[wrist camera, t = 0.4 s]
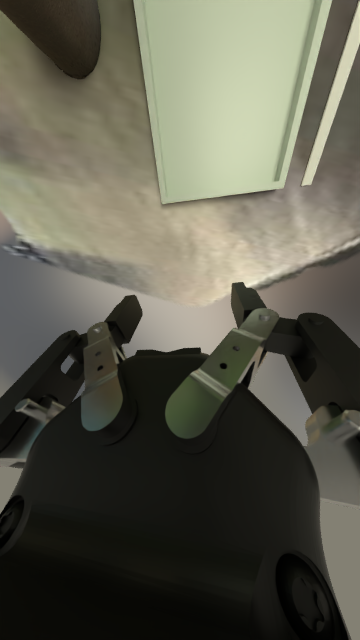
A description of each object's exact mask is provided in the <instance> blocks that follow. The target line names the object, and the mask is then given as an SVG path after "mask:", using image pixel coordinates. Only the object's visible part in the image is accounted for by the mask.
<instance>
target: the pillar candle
mask: <svg viewBox="0 0 360 640" xmlns="http://www.w3.org/2000/svg"><path fill="white" fill-rule="evenodd" d="M0 10H1V11H2V12H3V13H4V14H5V15H6V16H7V17H8V18H9V19H10V20H11V21H12V22H13V23H14V24H15V25H16V26H17V27H18V28H19V29H20V30H21V31H22V32H23V33H24V34H25V35H26V36H27V37H28V38H29V39H30V40H31V41H32V42H33V43H34V44H35V45H36V46H37V47H39V48H40V49H41V50H42V51H43V52H44V53H45V54H46V55H47V56H48V57H49V58H50V59H51V60H52V61H53V62H54V63H55V64H56V65H57V66H58V68H59V69H61V70H63V72H64V73H65V74H67V75H69V76H70V77H73V78H77V79H82V78H85V77H86V76H87V75H88V74H89V73H90V72H92V70H93V69H94V67H95V65H96V62H97V59H98V56H99V50H100V41H101V25H100V15H99V10H98V4H97V0H0Z"/></svg>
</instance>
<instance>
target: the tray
mask: <svg viewBox="0 0 360 640" xmlns="http://www.w3.org/2000/svg"><path fill="white" fill-rule="evenodd" d="M133 1H134V8H135V15H136V22H137V29H138V36H139V44H140V51H141V58H142V65H143V72H144V79H145V87H146V94H147V101H148V108H149V115H150V122H151V130H152V137H153V144H154V151H155V158H156V165H157V172H158V180H159V187H160V194H161V201H162V204H168V203H175V202H183V201H191V200H198V199H206V198H213V197H221V196H229V195H236V194H244V193H251V192H259V191H267V190H274V189H281V188H284V184H285V180H286V176H287V172H288V169H289V165H290V161H291V157H292V153H293V149H294V145H295V141H296V138H297V134H298V130H299V126H300V122H301V118H302V114H303V110H304V107H305V103H306V99H307V95H308V91H309V87H310V83H311V79H312V76H313V72H314V68H315V64H316V60H317V56H318V52H319V49H320V45H321V41H322V37H323V33H324V29H325V25H326V21H327V18H328V14H329V10H330V6H331V2H332V0H133Z"/></svg>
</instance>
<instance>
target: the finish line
mask: <svg viewBox="0 0 360 640" xmlns="http://www.w3.org/2000/svg"><path fill="white" fill-rule="evenodd" d="M359 43H360V0H358V3H357V6H356V10H355V13H354V16H353V19H352V22H351V26H350V29H349V32H348V35H347V39H346V42H345V45H344V48H343V51H342V55H341V58H340V61H339V64H338V67H337V71H336V74H335V77H334V80H333V83H332V87H331V90H330V93H329V96H328V100H327V103H326V106H325V109H324V112H323V116H322V119H321V122H320V125H319V128H318V132H317V135H316V138H315V141H314V145H313V148H312V151H311V154H310V157H309V161H308V164H307V167H306V170H305V173H304V177H303V180H302V183H301V186H305V185H311V183H312V180H313V177H314V175H315V172H316V169H317V166H318V163H319V160H320V157H321V154H322V151H323V148H324V145H325V143H326V140H327V137H328V134H329V131H330V128H331V125H332V122H333V119H334V116H335V113H336V110H337V108H338V105H339V102H340V99H341V96H342V93H343V90H344V87H345V84H346V81H347V78H348V76H349V73H350V70H351V67H352V64H353V61H354V58H355V55H356V52H357V49H358V46H359Z"/></svg>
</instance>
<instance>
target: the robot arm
mask: <svg viewBox="0 0 360 640" xmlns="http://www.w3.org/2000/svg"><path fill="white" fill-rule="evenodd" d="M231 307H232V311H233V314H234V317H235V320H236V324H237V327H238V329H236V328H233V329H232V330H231V331H230V332H229V333H228V335H227V336H226V337H225V338H224V339H223V341H222V342H221V343H220V344H219V345H218V346H217V348H216V349H215V350H214V351H213V352H212V354H211V355H208V354H204V353H201V348H183V349H179V350H175V351H171V352H161V351H156V350H137V352H136V354H135V355H134V356H132V357H129V358H127V357H126V355H125V352H124V349H123V347H122V346H121V345H122V344H126V343H129V342H130V340H131V338H132V336H133V334H134V332H135V330H136V328H137V326H138V324H139V321H140V319H141V317H142V309H141V306H140V304H139V302H138V300H137V297H136V296H135V295H130V296H125V297H124V299H123V300H122V301H121V303H119V304H118V305H117V306H116V307H115V308H114V310H113V311H112V312H111V313H110V315H109V316H108V317H107V318H106V320H105V321H104V322H99V323H97V324H95V325H93V326H92V327H90V328H89V329H88V332H87V333H85V334H81V335H79V334H78V333H77V331H75V330H71V331H68V332H66V333H64V334H62V335H61V336H59V337H58V338H57V339H56V340H55V341H54V342H53V344H52V345H51V346H50V347H49V348H48V349H47V350H46V351H45V352H44V353H43V354H42V355H41V356H40V357H39V358H38V359H37V360H36V361H35V362H34V363H33V364H32V365H31V366H30V368H29V369H28V370H27V371H26V372H25V373H24V374H23V375H22V376H21V377H20V378H19V379H18V380H17V381H16V382H15V383H14V384H13V385H12V386H11V387H10V388H9V389H8V390H7V391H6V393H5V394H4V395H3V396H2V397H1V398H0V467H8V466H9V467H15V468H23V471H22V473H21V476H20V478H19V481H18V483H17V485H16V487H15V489H14V491H13V493H12V495H11V497H10V499H9V501H8V503H7V505H6V506H5V508H4V510H3V511H2V512H1V514H0V640H351V637H350V635H349V632H348V630H347V627H346V624H345V621H344V619H343V616H342V613H341V610H340V608H339V605H338V602H337V599H336V597H335V593H334V591H333V587H332V584H331V581H330V577H329V574H328V569H327V565H326V561H325V556H324V551H323V546H322V538H321V531H320V501H323V502H327V503H332V504H336V505H342V506H346V507H350V508H356V509H360V348H359V347H358V346H357V345H356V344H355V343H354V342H353V341H352V340H351V339H350V338H349V337H348V336H347V335H346V334H345V333H344V332H343V331H342V330H341V329H340V328H339V327H338V326H337V325H336V324H335V323H334V322H333V321H332V320H331V319H329V318H328V317H326V316H324V315H321V314H317V313H303V314H300V315H299V316H298V318H297V320H295V319H286V318H281V317H279V315H278V313H277V312H275V311H273V310H271V309H267V307H266V306H265V304H264V303H263V301H262V300H261V299H260V296H259V295H258V293H257V292H256V290H254V289H252V288H246V287H245V285H244V283H243V282H238V283H232V292H231ZM268 352H273V353H278V354H283V355H285V357H286V359H287V361H288V363H289V366H290V368H291V370H292V372H293V374H294V376H295V378H296V380H297V382H298V384H299V387H300V389H301V391H302V393H303V395H304V397H305V399H306V401H307V403H308V405H309V408H310V410H311V412H312V415H311V416H310V417H309V418H308V419H307V421H306V424H305V428H306V432H307V436H308V444H307V446H302V444H301V442H300V441H299V440H298V438H297V437H296V436H295V435H294V434H293V433H292V431H291V430H290V429H288V428H287V427H286V426H285V425H284V424H283V423H282V422H281V421H280V420H279V419H278V418H277V417H276V416H275V415H274V414H273V413H272V412H271V411H270V410H269V409H268V408H267V407H266V406H265V405H264V404H263V403H262V402H261V401H260V400H259V399H258V398H257V397H256V396H255V395H254V394H253V393H251V391H250V390H249V389H250V387H251V385H252V383H253V381H254V378H255V376H256V374H257V371H258V370H259V368H260V366H261V364H262V363H263V361H264V359H265V357H266V355H267V353H268ZM68 355H69V356H70V357H71V358H72V359H73V360H74V363H73V364H72V366H71V367H70V368H69V370H68V371H67V373H66V374H64V373H63V372H62V371H61V364H62V363H63V362H64V360H65V359H66V358H67V356H68ZM84 380H85V390H84V391H83V392H82V394H81V396H79V397H78V398H77V399H75V400H74V401H73V399H74V398H75V396H76V394H77V393H78V391H79V389H80V387H81V386H82V384H83V382H84ZM72 401H73V402H72Z"/></svg>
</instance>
